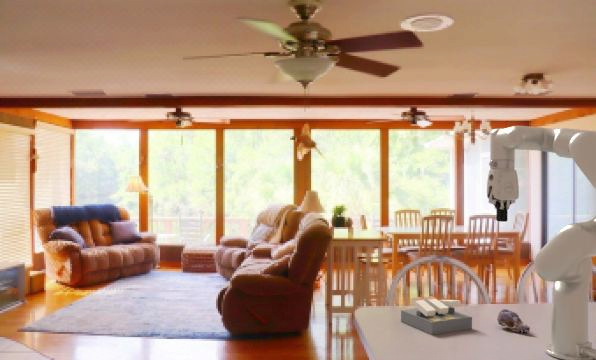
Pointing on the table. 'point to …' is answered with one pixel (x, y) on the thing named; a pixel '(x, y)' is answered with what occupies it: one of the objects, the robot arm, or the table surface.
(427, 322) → the switch unit
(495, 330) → the table surface
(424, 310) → the block
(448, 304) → the rocker
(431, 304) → the rocker
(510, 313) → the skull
